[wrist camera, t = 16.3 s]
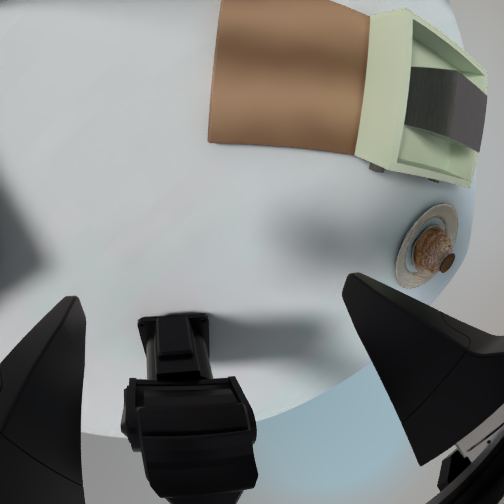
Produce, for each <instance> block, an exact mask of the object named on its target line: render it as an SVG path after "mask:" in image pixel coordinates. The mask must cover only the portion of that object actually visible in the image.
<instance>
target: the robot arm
mask: <svg viewBox="0 0 504 504" xmlns="http://www.w3.org/2000/svg"><path fill="white" fill-rule="evenodd" d="M342 298H343V300H344V303H345V305H346V307H347V310H348V312H349V315H350V317H351V319H352V322H353V324H354V327H355V329H356V331H357V333H358V335H359V337H360V339H361V341H362V343H363V345H364V347H365V349H366V351H367V353H368V355H369V357H370V359H371V361H372V363H373V365H374V367H375V369H376V371H377V372H378V375H379V377H380V379H381V381H382V383H383V385H384V387H385V389H386V391H387V393H388V395H389V397H390V400H391V402H392V404H393V406H394V408H395V410H396V412H397V415H398V417H399V419H400V421H401V423H402V426H403V428H404V430H405V433H406V435H407V437H408V440H409V442H410V444H411V447H412V449H413V451H414V454H415V456H416V459H417V461H418V463H419V465H420V466H423V465H424V464H426V463H428V462H429V461H430V460H432V459H434V458H436V457H437V456H439V455H440V454H442V453H443V452H445V451H446V450H448V449H449V448H451V447H452V446H453V445H455V446H456V447H457V448H456V449H455V450H454V451H453V452H452V453H451V454H450V455H448V456H447V457H446V458H445V459H444V460H443V461H442V465H441V470H440V476H439V481H438V484H437V486H438V488H439V490H440V493H439V494H437V496H435V497H434V498H432V499H431V500H430V501H429V502H427V503H426V504H504V336H495V335H491V334H489V333H486V332H484V331H482V330H479V329H477V328H475V327H473V326H470V325H468V324H466V323H464V322H461V321H459V320H457V319H455V318H453V317H451V316H449V315H447V314H444V313H443V312H441V311H438V310H436V309H434V308H432V307H430V306H428V305H426V304H424V303H422V302H420V301H418V300H416V299H414V298H412V297H410V296H408V295H406V294H404V293H402V292H400V291H398V290H395V289H393V288H391V287H389V286H387V285H385V284H383V283H381V282H379V281H376V280H374V279H372V278H370V277H368V276H366V275H364V274H362V273H358V272H357V273H350V274H349V275H348V276H347V279H346V282H345V285H344V288H343V291H342ZM201 319H204V320H201ZM141 323H144V324H141ZM138 329H139V333H140V337H141V340H142V344H143V347H144V351H145V354H146V358H147V380H145V379H136V378H130V379H129V386H127V388H126V389H124V409H123V414H122V420H121V432H122V433H123V434H124V435H126V436H127V437H128V440H129V442H130V443H131V446H132V450H133V451H134V452H142V458H143V463H144V469H145V474H146V477H147V480H148V481H149V482H150V486H151V487H152V489H153V490H154V491H155V492H156V493H157V495H158V496H159V497H161V498H165V499H167V501H168V502H170V503H171V504H236V503H237V502H238V500H239V498H240V496H241V494H242V493H243V491H244V490H247V489H252V488H254V487H255V484H256V481H257V478H258V472H257V467H256V463H255V459H254V453H253V445H252V444H254V443H255V441H256V436H257V429H256V421H255V417H254V413H253V410H252V408H251V406H250V404H249V402H248V400H247V399H246V397H245V395H244V393H243V391H242V389H241V387H240V385H239V383H238V381H237V379H236V378H235V376H232V377H228V378H217V379H213V375H212V371H211V366H210V362H209V320H208V316H207V315H206V314H195V315H183V316H169V317H154V318H141V319H139V320H138ZM85 335H86V317H85V314H84V311H83V308H82V306H81V303H80V300H79V298H78V297H77V296H66V297H64V298H63V299H62V300H61V301H60V302H59V303H58V304H57V305H56V306H55V307H54V308H53V309H52V310H51V311H50V312H48V313H47V314H46V315H45V316H44V317H43V318H42V319H41V320H40V321H39V322H38V323H37V324H36V325H35V326H34V327H33V329H32V330H31V331H30V332H29V333H28V334H27V335H26V336H25V337H24V338H23V339H22V340H21V341H20V342H19V343H18V344H17V345H16V346H15V348H14V349H13V350H12V351H11V352H10V353H9V354H8V355H7V356H6V358H5V359H4V360H3V361H2V362H1V363H0V504H85V499H84V489H83V480H82V467H81V404H82V389H83V378H84V367H85Z"/></svg>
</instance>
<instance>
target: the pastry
mask: <svg viewBox="0 0 504 504" xmlns="http://www.w3.org/2000/svg"><path fill="white" fill-rule="evenodd" d="M432 218H440V219H441V220H442V221H443V222H444V225H445V232H444V229H443V228H442V227H441V226H438V225H433V226H430V227H428V228H427V229H426V230H425V231H424V232H422V234H421V235H420V236H419V238H417V240H416V241H415V243H414V245H413V249H412V262H413V265H414V266H415V268H416V269H417V270H418V271H419V272H415V273H412V272H410V271H408V270H407V268H406V265H405V256H406V252H407V249H408V246H409V244H410V242H411V240H412V238H413V236H414V235H415V233H416V232H417V230H418V229H419V228H420V227H421V226H422V225H423V224H424V223H425V222H426V221H428V220H429V219H432ZM457 227H458V220H457V214H456V211H455V210H454V208H453V207H452V206H450V205H448V204H444V203H443V204H438V205H435V206H433V207H431V208H430V209H429V210H427V211H426V212H425V213H424V214H423V215H422V216H421V217H420V218H419V219H418V220H417V221H416V222H415V223H414V225H413V226H412V228H411V229H409V231H408V232H407V233H406V235H405V237H404V241H403V243H402V245H401V248H400V250H399V252H398V256H397V258H396V267H395V275H396V279H397V281H398V283H399V285H400V286H402V287H404V288H414V287H418V286H419V285H421V284H423V283H425V282H427V281H428V280H429V279H431V278H432V277H433V276H434V275H435V274H436V273H437V272H439V271H441V272H442V273H444V272H446V271H447V270H448V269H449V268H450V267H451V265H452V263H453V262H454V258H455V255H454V254H453V253H452V251H453V249H452V248H453V246H454V243H455V240H456V236H457Z"/></svg>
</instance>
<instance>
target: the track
mask: <svg viewBox="0 0 504 504" xmlns="http://www.w3.org/2000/svg"><path fill="white" fill-rule="evenodd" d="M369 32H370V17H369V16H367V15H365V14H363V13H360V12H358V11H356V10H353V9H351V8H348V7H346V6H343V5H341V4H338V3H335V2H333V1H330V0H222V1H221V8H220V15H219V22H218V30H217V39H216V47H215V56H214V66H213V76H212V88H211V99H210V113H209V127H208V142H209V143H235V144H257V145H273V146H285V147H296V148H306V149H315V150H323V151H331V152H338V153H345V154H352V155H355V149H356V143H357V137H358V131H359V125H360V118H361V111H362V104H363V96H364V88H365V80H366V70H367V60H368V47H369Z"/></svg>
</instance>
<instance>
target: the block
mask: <svg viewBox="0 0 504 504" xmlns="http://www.w3.org/2000/svg"><path fill="white" fill-rule="evenodd" d="M486 104H487V95H486V94H485V93H484V92H482V91H481V90H480V89H479V88H478V87H477V86H476V85H475V84H473V83H472V82H471V81H470V80H469V79H467V78H466V77H465V76H464V75H463V74H461V73H460V72H459V71H457V70H449V69H440V68H428V67H411V71H410V82H409V91H408V99H407V107H406V114H405V121H404V125H407V126H410V127H412V128H415V129H418V130H420V131H423V132H425V133H428V134H430V135H433V136H435V137H438V138H441V139H444V140H447V141H450V142H453V143H455V144H458V145H461V146H463V147H466V148H469V149H471V150H474V151H476V152H479V151H480V146H481V140H482V134H483V128H484V121H485V113H486Z"/></svg>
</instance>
